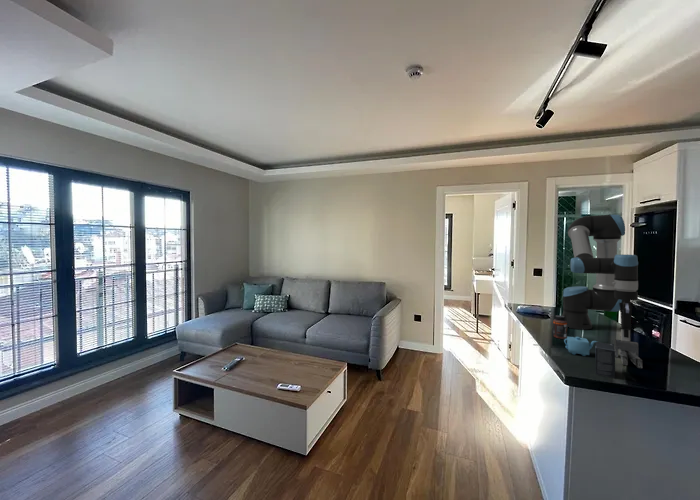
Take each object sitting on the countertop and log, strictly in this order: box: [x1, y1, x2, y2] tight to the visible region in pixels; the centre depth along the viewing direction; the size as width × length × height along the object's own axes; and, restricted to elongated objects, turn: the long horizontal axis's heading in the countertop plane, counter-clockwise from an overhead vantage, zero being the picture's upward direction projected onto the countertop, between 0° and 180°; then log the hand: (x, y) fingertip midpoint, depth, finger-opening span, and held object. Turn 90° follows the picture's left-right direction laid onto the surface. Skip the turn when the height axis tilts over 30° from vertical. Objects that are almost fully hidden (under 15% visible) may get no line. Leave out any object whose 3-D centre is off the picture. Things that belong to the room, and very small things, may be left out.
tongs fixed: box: [618, 349, 629, 367], centre depth 125 cm, size 15×3×3 cm, turn 142°
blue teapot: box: [563, 335, 599, 357], centre depth 133 cm, size 12×6×8 cm, turn 60°
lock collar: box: [614, 339, 639, 358], centre depth 127 cm, size 3×7×7 cm, turn 52°
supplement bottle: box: [552, 314, 568, 340], centre depth 155 cm, size 6×6×11 cm
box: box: [595, 341, 616, 379], centre depth 113 cm, size 8×6×11 cm
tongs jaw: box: [628, 351, 644, 369], centre depth 121 cm, size 11×2×3 cm, turn 150°
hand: (625, 344), depth 129 cm, fingers closed
